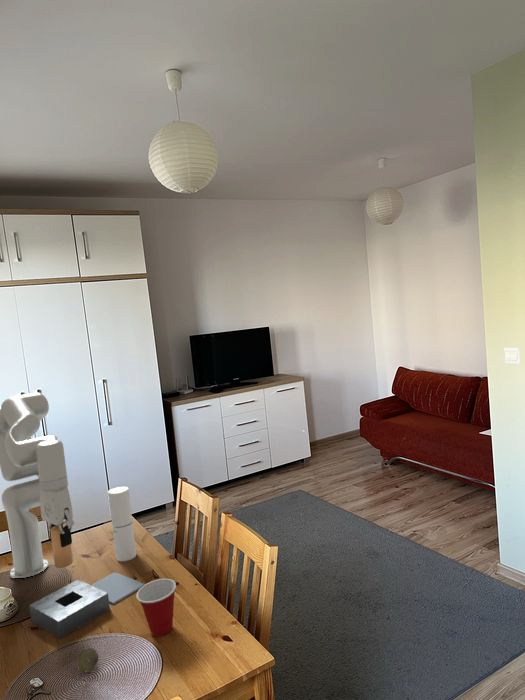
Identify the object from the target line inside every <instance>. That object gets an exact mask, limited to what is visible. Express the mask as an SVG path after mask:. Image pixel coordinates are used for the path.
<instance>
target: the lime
mask: <svg viewBox="0 0 525 700" xmlns="http://www.w3.org/2000/svg"><path fill="white" fill-rule="evenodd" d="M98 654H99V653H98V652H97V650H95V649H94V648H92V647H88V648H85V649H84V650H82V651H81V653H80V654H79V655H78V658H77V665H78V667H79V668H80V670H81V671H82V672H85V673H91V672H92V671H93V670H95V669H96V667H97V665H98V662H99V655H98Z"/></svg>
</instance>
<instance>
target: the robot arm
mask: <svg viewBox="0 0 525 700" xmlns="http://www.w3.org/2000/svg"><path fill="white" fill-rule="evenodd" d="M49 405H50V404H49V402H48V399H47V398H46V396H45V395H44V394H43V393H41V392H33V393H27V394H20V395H15V396H11V397H8V398H6V399H5V400H4V401H3V402H1V405H0V472H1V475H2V479H4V480H5V481H6V482H16V481H20V480H23V479H26V478H30V477H35V476H36V477H37V478H36V479H35V478H34V479H31V480H28V481H24V482H21V483H17V484H14V485H11V486H9V487H7V488H5V489H4V490H3V492H2V494H1V503H2V505H3V509H4V512H5V515H6V521H7V526H8V533H9V537H10V538H9V539H10V547H11V554H12V561H13V568H11V570H10V572H9V576H10V578H12V579H14V578H25V579H27V578H26V577H30V576H33V577H35V576H34V575H36V574H38V573H40V572H42V571H43V572H45V571H46V570H47V569H48V568H49V565H50V564H49V561H48V559H44V555H43V548H42V547H43V546H42V542H41V541H42V540H41V534H40V533H41V532H40V527H39V526H40V525H39V520H38V518H37V516H36V515H35V514H34V513H32V512H30V511H29V510H31V509H34V508H38V507H39V508H40V515H41V516H40V517H41V520H43V521H44V522H46V523H47V528H48V532H49V533H48V534H49V539H50V540H49V541H50V543H51V544H52V539H51V532H50V529H51V528H52V527H54V526H56V525H57V526H59V528H60V531H61V534H60V541H61V547H65V546H67V545H69V544H71V545H72V543H73V539H72V529H73V528H72V527H73V526H74V525H75V522H74V519H73V506H72V501H71V495H70V492H69V489H68V486H69V481H68V474H67V467H66V466H67V464H66V459H65V458H66V457H65V450H64V448H65V447H64V444H63V442H62V441H61V439H60V438H58V437H57V436H56V435H53V434H50V435H43V436H40V437H34V438H31V437H33V436H34V435H35V434H37V432H38V431H39V429H40V427H41V421H42V420H43V419H45V417H46V416H47V415H48V413H49V409H50V407H49ZM29 438H30V439H29ZM63 524H66V526H65V527H64V528H63ZM47 567H48V568H47ZM46 568H47V569H46ZM45 569H46V570H45ZM44 570H45V571H44ZM43 572H42V573H43ZM40 574H41V573H40ZM38 575H39V574H38ZM36 576H37V575H36ZM30 578H31V577H30Z"/></svg>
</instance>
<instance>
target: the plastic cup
mask: <svg viewBox="0 0 525 700" xmlns="http://www.w3.org/2000/svg"><path fill="white" fill-rule="evenodd" d="M144 584H145V583H144ZM176 585H177V583H176V581H174V580H173V579H169V578H159V579H158V578H157V579H155V580H151V581H150V582H148V583H146V584H145V585H144V586H143V587H141V588H140V589H139V590H137V591H136V600H137V601H138V602H139V603H140V605H141V608H142V610H143V613H144V616H145V619H146V623H147V624H148V627H149V631H150V634H152V636H154V637H164V636H165V635H168V634H169V633H170V632H172V630H171V629H173V624H174V622H173V621H174V620H173V619H174V607H175V605H174V603H175V602H174V601H175V592H176V589H177V586H176Z"/></svg>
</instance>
